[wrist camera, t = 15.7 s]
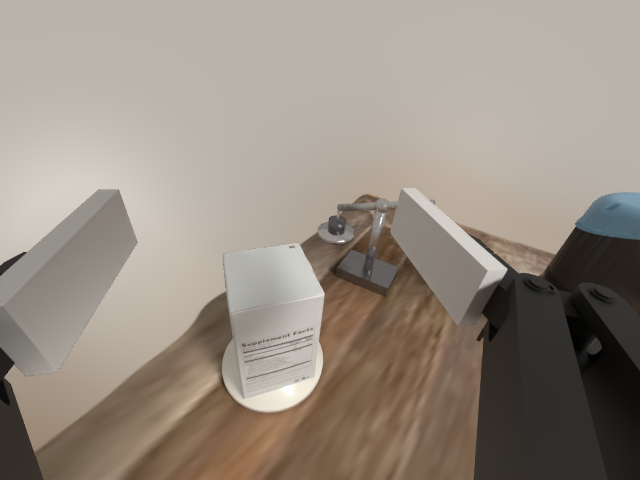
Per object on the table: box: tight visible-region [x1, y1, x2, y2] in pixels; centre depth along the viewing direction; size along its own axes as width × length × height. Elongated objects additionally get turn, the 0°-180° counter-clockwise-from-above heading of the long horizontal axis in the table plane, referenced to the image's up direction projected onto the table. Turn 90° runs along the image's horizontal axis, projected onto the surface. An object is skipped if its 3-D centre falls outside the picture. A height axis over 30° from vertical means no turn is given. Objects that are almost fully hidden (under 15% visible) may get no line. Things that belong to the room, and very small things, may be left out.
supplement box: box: [223, 243, 324, 399], centre depth 32 cm, size 9×9×15 cm
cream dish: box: [222, 339, 323, 414], centre depth 37 cm, size 13×13×1 cm
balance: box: [317, 199, 435, 297], centre depth 48 cm, size 22×7×18 cm, turn 61°
